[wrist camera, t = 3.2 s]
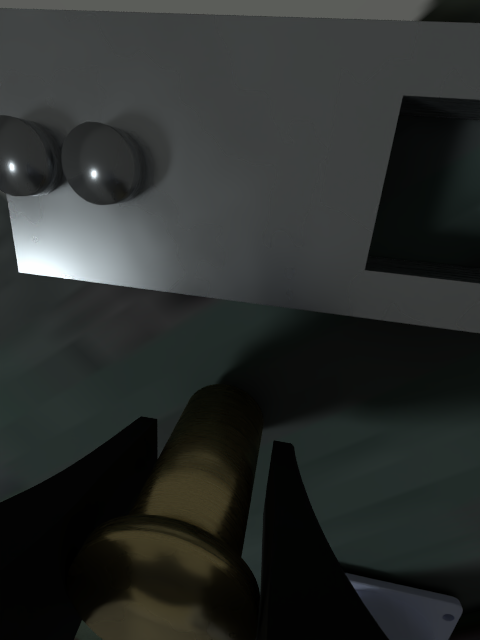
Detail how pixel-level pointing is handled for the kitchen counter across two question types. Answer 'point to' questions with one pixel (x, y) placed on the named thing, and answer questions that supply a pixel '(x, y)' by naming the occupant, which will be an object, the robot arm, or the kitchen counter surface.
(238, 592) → the pin
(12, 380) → the kitchen counter surface
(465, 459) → the kitchen counter surface
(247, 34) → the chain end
